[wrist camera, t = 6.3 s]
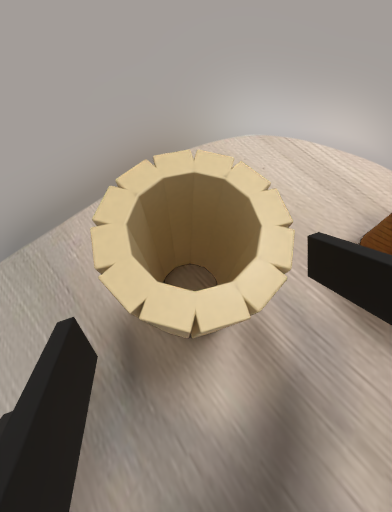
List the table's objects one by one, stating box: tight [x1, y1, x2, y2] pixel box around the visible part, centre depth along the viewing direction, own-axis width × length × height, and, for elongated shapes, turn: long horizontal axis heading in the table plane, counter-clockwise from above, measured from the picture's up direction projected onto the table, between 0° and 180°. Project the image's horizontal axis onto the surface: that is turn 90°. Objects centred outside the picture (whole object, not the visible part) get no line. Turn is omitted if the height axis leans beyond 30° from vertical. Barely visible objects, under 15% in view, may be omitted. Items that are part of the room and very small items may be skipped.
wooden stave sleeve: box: [90, 150, 295, 338], centre depth 14 cm, size 8×8×12 cm
